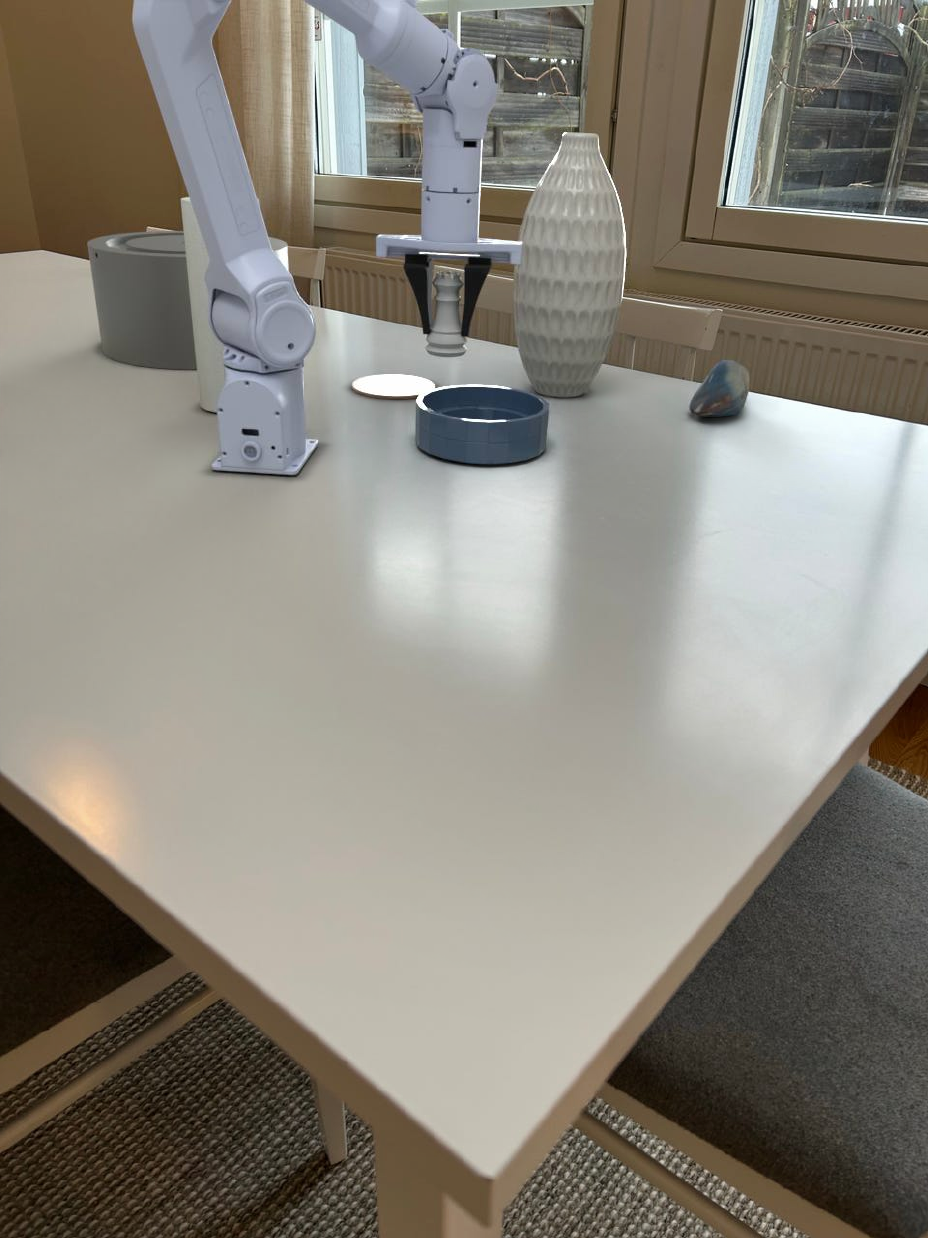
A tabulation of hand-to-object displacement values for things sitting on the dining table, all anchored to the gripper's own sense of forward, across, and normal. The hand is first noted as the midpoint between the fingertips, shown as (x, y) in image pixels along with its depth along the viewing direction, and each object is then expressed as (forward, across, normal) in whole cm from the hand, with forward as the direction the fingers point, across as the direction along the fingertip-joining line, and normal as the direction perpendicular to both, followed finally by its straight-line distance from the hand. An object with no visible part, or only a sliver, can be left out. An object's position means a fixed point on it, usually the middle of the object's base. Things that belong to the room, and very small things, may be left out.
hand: (446, 333), depth 99 cm
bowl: (+9, -5, +8) cm, 13 cm away
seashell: (+10, -31, -10) cm, 34 cm away
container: (+10, +37, -27) cm, 47 cm away
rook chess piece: (+2, 0, 0) cm, 2 cm away
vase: (+10, -12, -16) cm, 22 cm away
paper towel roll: (+10, +24, 0) cm, 25 cm away
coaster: (+9, +8, -12) cm, 17 cm away
